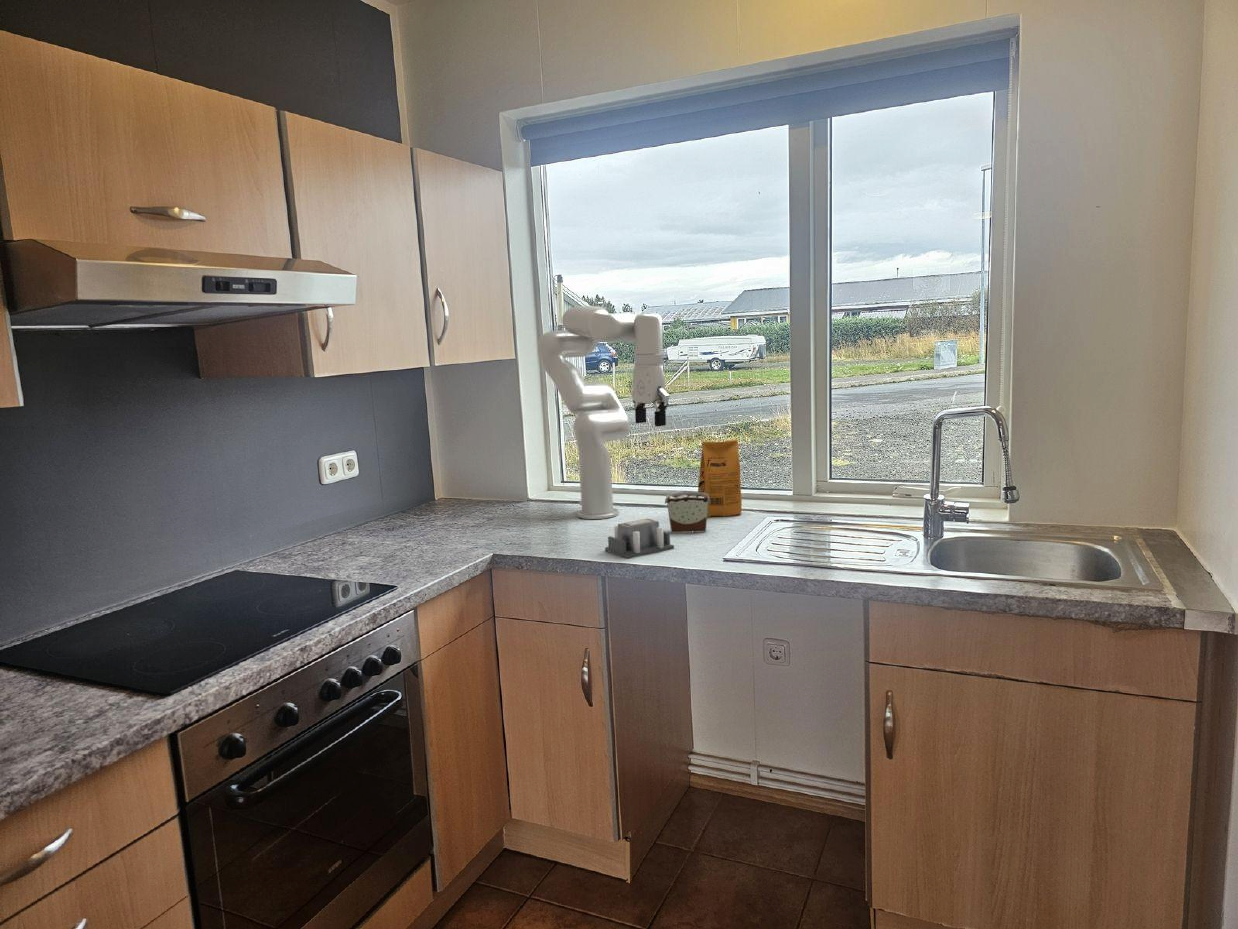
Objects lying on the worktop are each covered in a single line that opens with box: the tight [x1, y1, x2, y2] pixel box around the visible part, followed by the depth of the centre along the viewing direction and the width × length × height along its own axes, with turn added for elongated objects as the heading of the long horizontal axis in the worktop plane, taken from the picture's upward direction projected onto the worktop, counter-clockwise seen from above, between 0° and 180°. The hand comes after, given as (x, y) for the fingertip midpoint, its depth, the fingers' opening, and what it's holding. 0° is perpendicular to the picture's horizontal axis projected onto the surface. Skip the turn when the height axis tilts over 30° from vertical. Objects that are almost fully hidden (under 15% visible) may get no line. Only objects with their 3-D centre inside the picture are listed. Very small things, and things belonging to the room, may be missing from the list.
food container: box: [664, 491, 711, 533], centre depth 220 cm, size 12×6×10 cm, turn 84°
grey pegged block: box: [604, 525, 675, 559], centre depth 201 cm, size 10×14×6 cm
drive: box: [617, 518, 660, 551], centre depth 201 cm, size 5×9×6 cm, turn 122°
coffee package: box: [697, 438, 743, 518], centre depth 237 cm, size 10×12×22 cm
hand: (650, 424), depth 219 cm, fingers open, 9 cm apart
